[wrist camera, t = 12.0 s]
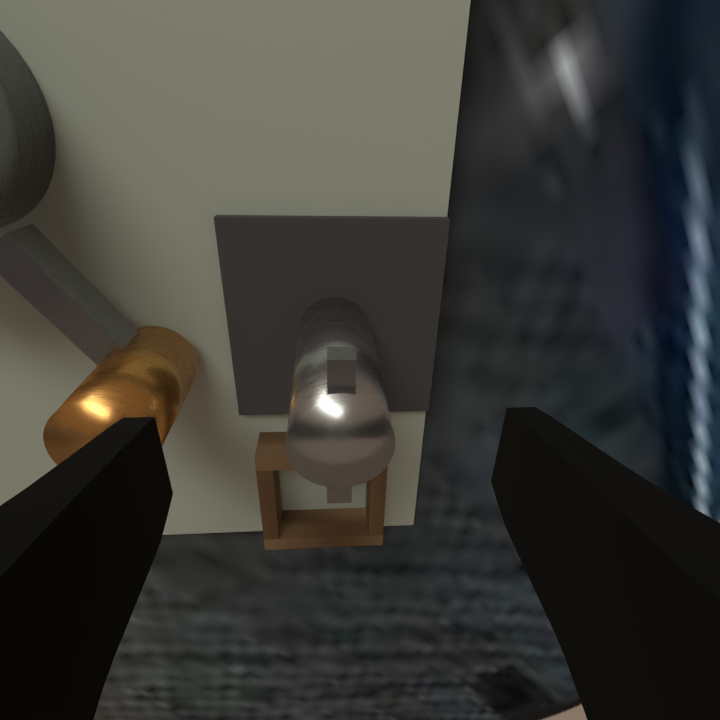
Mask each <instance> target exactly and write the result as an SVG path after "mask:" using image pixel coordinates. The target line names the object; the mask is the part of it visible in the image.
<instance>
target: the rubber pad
mask: <svg viewBox="0 0 720 720" xmlns="http://www.w3.org/2000/svg"><path fill="white" fill-rule="evenodd" d="M214 225H215V233H216V240H217V248H218V256H219V264H220V271H221V279H222V287H223V294H224V302H225V310H226V318H227V325H228V333H229V341H230V349H231V356H232V364H233V372H234V379H235V387H236V395H237V403H238V410H239V415H272V414H289V409H290V400H291V392H292V383H293V375H294V366H295V357H296V349H297V340H298V332H299V324H300V321H301V318H302V316H303V314H304V313H305V311H306V310H307V309H308V308H309V307H310V306H311V305H312V304H314V303H316V302H317V301H320V300H322V299H325V298H331V297H339V298H345V299H348V300H350V301H353V302H354V303H356V304H357V305H359V306H360V307H361V308H362V309H363V310H364V311H365V313H366V314H367V316H368V318H369V322H370V326H371V330H372V335H373V339H374V344H375V348H376V353H377V357H378V362H379V366H380V371H381V376H382V380H383V385H384V389H385V394H386V398H387V403H388V407H389V412H408V411H429V403H430V394H431V385H432V377H433V368H434V359H435V350H436V341H437V332H438V323H439V314H440V305H441V297H442V288H443V279H444V270H445V261H446V252H447V243H448V234H449V225H450V219H449V218H448V217H413V216H290V215H216V216H215V217H214Z"/></svg>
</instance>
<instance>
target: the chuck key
mask: <svg viewBox="0 0 720 720" xmlns="http://www.w3.org/2000/svg"><path fill="white" fill-rule="evenodd" d="M285 448H286V454H287V458H288V460H289V462H290V464H291V466H292V467H293V468H294V470H295V471H296V472H297V473H298V474H299V475H301V476H302V477H303V478H305V479H307V480H308V481H310V482H312V483H315V484H318V485H321V486H325V487H327V503H351V502H352V486H356V485H360V484H362V483H365V482H367V481H369V480H371V479H373V478H374V477H376V476H377V475H379V474H380V473H381V472H382V471H383V470H384V469H385V468H386V467H387V465H388V464H389V463H390V461H391V459H392V457H393V454H394V451H395V435H394V430H393V426H392V421H391V417H390V412H389V407H388V403H387V398H386V394H385V389H384V385H383V380H382V376H381V371H380V366H379V362H378V357H377V353H376V348H375V344H374V339H373V335H372V330H371V326H370V322H369V318H368V316H367V314H366V313H365V311H364V310H363V309H362V308H361V307H360V306H359V305H357V304H356V303H354V302H353V301H350V300H348V299H345V298H339V297H331V298H325V299H322V300H320V301H317V302H316V303H314V304H312V305H311V306H310V307H309V308H308V309H307V310H306V311H305V313H304V314H303V316H302V318H301V321H300V324H299V332H298V340H297V349H296V357H295V366H294V375H293V383H292V392H291V400H290V409H289V418H288V426H287V435H286V446H285Z"/></svg>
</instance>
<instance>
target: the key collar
mask: <svg viewBox="0 0 720 720" xmlns="http://www.w3.org/2000/svg"><path fill="white" fill-rule="evenodd" d="M286 435H287V432H260V434H259V438H258V443H257V448H256V453H255V458H254V459H255V468H256V476H257V485H258V493H259V502H260V511H261V519H262V528H263V536H264V545H265V550H277V549H300V548H324V547H347V546H371V545H383V530H384V515H385V499H386V484H387V468H388V465H387V467H386V468H385V469H384V470H383V471H382V472H381V473H380V474H379V475H377V476H376V477H374V478H373V479H371V480H369V481H367V483H366V507H363V508H336V509H308V510H282V503H281V491H280V479H279V470H294V468H293V467H292V466H291V464H290V462H289V460H288V458H287V454H286V448H285V446H286Z"/></svg>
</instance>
